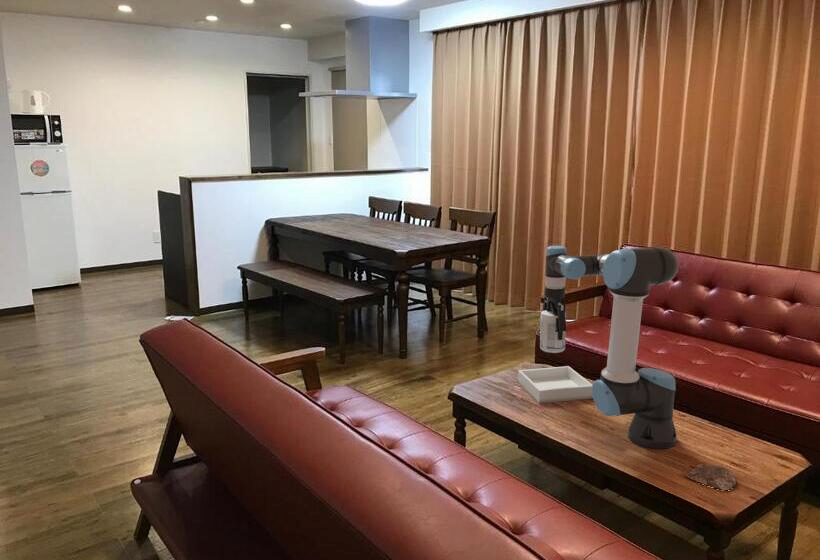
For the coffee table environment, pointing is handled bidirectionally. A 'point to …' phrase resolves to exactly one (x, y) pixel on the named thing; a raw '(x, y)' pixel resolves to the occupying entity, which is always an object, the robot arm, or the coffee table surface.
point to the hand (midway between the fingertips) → (552, 343)
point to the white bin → (555, 384)
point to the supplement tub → (549, 333)
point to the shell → (713, 476)
